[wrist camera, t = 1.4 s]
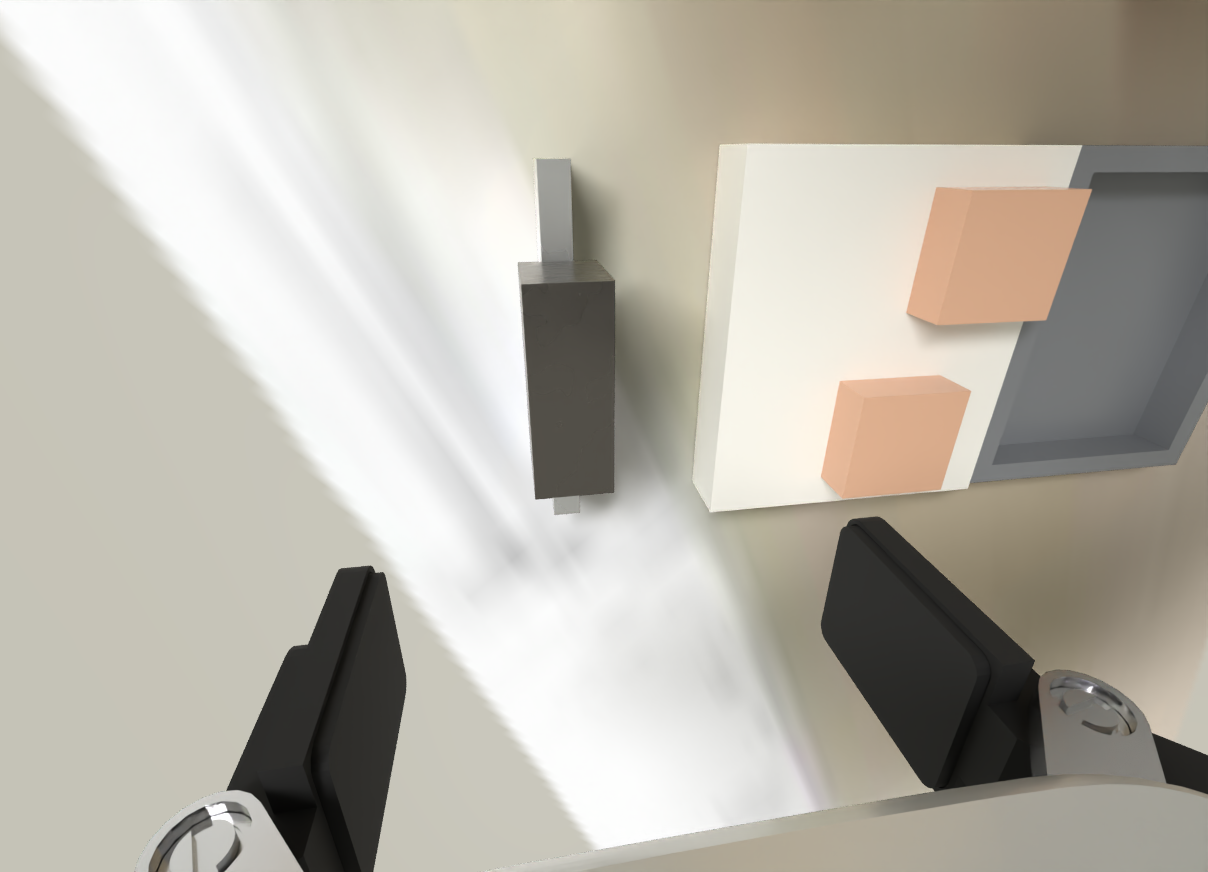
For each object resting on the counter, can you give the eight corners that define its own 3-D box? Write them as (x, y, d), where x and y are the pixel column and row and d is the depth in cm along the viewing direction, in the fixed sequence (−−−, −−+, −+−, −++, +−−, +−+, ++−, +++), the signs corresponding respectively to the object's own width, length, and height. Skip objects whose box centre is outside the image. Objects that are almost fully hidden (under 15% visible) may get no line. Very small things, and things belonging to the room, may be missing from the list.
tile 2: (936, 187, 23) (973, 190, 21) (1047, 186, 23) (1092, 189, 21) (906, 312, 25) (937, 325, 23) (1008, 308, 25) (1046, 320, 24)
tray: (1031, 145, 25) (1082, 145, 23) (1270, 146, 27) (1338, 146, 25) (937, 460, 33) (969, 483, 30) (1132, 444, 34) (1175, 464, 32)
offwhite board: (719, 144, 23) (747, 143, 21) (1021, 145, 25) (1082, 145, 23) (692, 480, 30) (710, 512, 28) (929, 461, 33) (967, 488, 30)
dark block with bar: (509, 158, 23) (512, 160, 16) (584, 157, 23) (615, 160, 17) (531, 483, 29) (540, 572, 23) (590, 478, 30) (613, 564, 24)
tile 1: (839, 380, 26) (864, 397, 24) (939, 375, 26) (971, 391, 25) (820, 476, 28) (842, 498, 26) (913, 469, 29) (940, 489, 27)
